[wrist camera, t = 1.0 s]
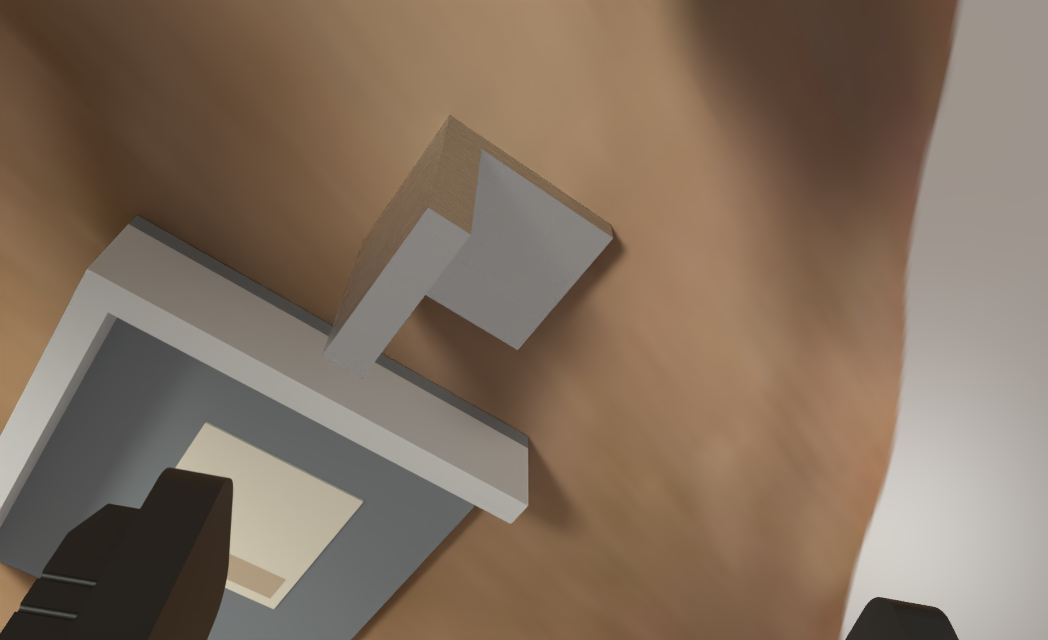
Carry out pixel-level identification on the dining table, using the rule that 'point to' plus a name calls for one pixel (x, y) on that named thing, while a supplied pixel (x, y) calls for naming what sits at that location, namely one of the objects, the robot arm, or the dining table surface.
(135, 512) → the robot arm
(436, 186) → the angle bracket
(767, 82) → the dining table surface
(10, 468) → the corner arena
